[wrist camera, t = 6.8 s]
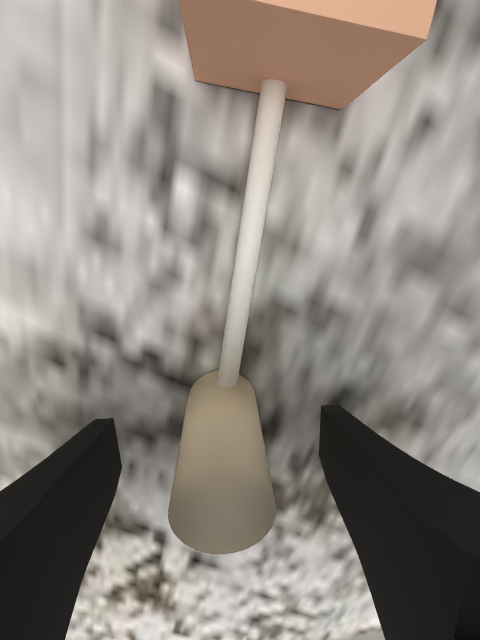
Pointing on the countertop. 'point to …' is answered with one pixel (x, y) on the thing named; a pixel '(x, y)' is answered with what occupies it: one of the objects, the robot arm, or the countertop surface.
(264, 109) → the cord block
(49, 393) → the countertop surface
